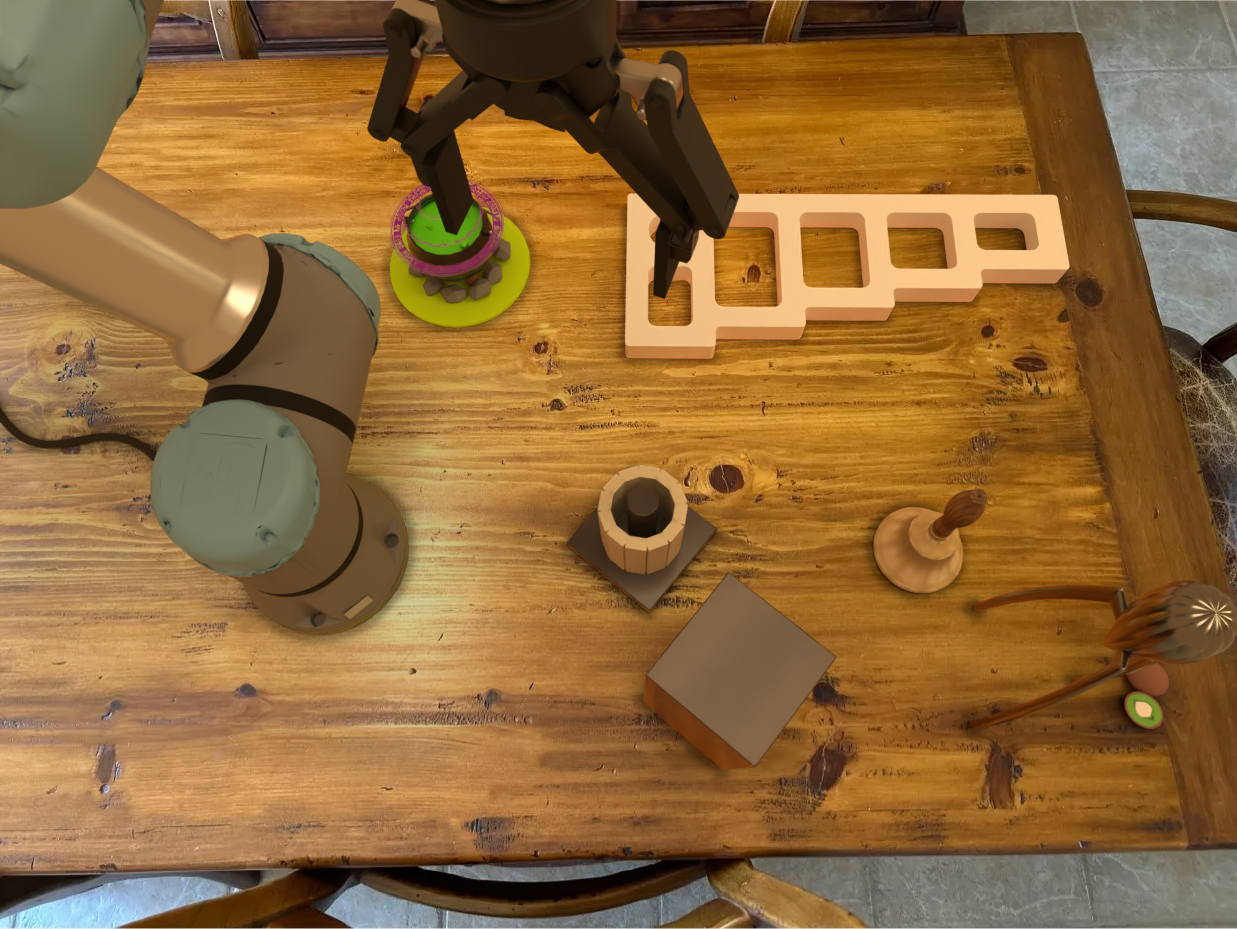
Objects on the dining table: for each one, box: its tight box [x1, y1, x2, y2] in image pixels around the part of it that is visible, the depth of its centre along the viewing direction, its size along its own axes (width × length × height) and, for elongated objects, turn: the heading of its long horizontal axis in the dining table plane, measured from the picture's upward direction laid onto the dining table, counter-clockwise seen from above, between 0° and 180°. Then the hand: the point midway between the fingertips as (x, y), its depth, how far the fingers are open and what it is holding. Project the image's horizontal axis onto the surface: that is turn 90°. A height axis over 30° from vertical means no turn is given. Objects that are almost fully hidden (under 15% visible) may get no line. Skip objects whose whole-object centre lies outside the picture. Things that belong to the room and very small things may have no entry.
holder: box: [624, 193, 1070, 360], centre depth 91 cm, size 45×18×3 cm, turn 89°
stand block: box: [642, 571, 837, 771], centre depth 69 cm, size 9×9×22 cm
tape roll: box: [597, 464, 689, 575], centre depth 78 cm, size 7×7×9 cm
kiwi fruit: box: [1123, 656, 1170, 730], centre depth 77 cm, size 6×5×3 cm
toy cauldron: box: [389, 180, 531, 329], centre depth 89 cm, size 15×15×11 cm
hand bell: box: [872, 487, 988, 594], centre depth 75 cm, size 8×8×16 cm
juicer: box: [968, 579, 1237, 730], centre depth 65 cm, size 10×11×30 cm
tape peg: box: [566, 464, 718, 614], centre depth 78 cm, size 10×10×12 cm
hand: (561, 247), depth 54 cm, fingers open, 13 cm apart
